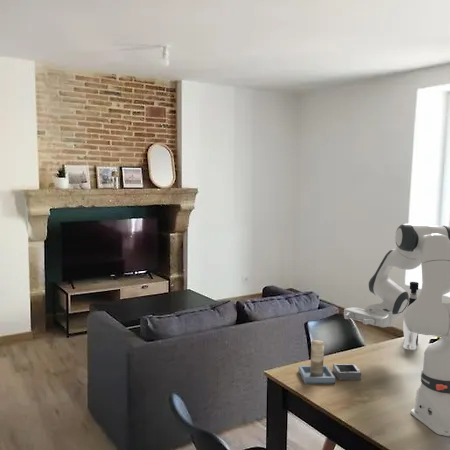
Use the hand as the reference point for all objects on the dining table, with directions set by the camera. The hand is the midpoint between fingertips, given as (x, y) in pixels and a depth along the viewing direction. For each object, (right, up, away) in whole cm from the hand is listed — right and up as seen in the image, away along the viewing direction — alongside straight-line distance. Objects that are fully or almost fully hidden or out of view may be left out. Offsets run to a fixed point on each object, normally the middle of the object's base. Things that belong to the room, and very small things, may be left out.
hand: (354, 319), depth 207 cm
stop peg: (-17, -22, -6) cm, 28 cm away
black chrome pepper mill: (+37, -19, +38) cm, 56 cm away
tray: (-17, -22, -6) cm, 29 cm away
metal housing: (-4, -22, -3) cm, 23 cm away
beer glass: (+34, -19, +30) cm, 49 cm away
